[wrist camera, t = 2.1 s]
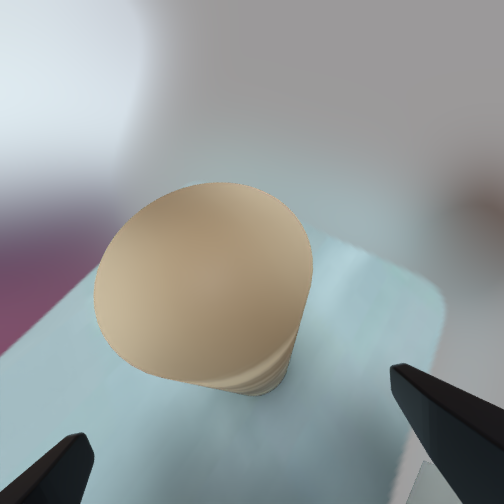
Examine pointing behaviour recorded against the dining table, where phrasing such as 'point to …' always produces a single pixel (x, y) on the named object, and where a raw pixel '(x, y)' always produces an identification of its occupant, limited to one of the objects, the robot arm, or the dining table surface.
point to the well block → (431, 488)
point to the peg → (207, 288)
